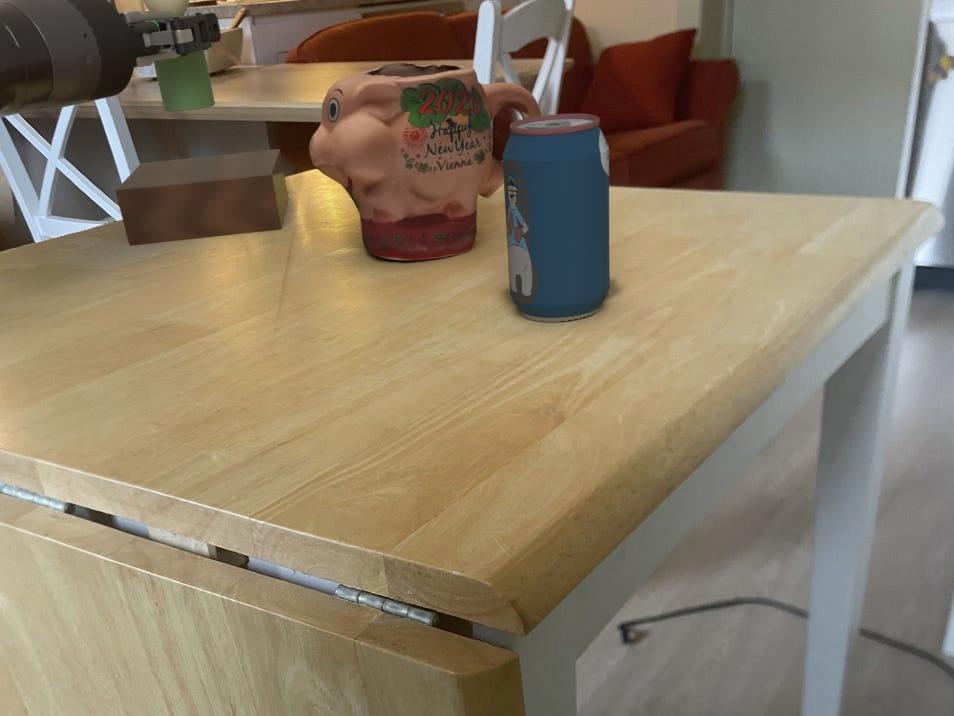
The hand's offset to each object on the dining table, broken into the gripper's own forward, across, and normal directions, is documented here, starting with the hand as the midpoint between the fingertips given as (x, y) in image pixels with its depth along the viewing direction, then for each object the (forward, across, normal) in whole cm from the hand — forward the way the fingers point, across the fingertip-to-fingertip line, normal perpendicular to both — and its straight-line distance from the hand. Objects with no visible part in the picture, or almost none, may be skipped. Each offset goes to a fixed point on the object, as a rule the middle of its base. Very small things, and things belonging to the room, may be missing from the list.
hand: (191, 28), depth 91 cm
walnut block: (-2, 0, +17) cm, 17 cm away
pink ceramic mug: (-4, -25, +18) cm, 31 cm away
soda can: (-19, -42, +18) cm, 49 cm away
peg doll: (-3, 0, +6) cm, 7 cm away
